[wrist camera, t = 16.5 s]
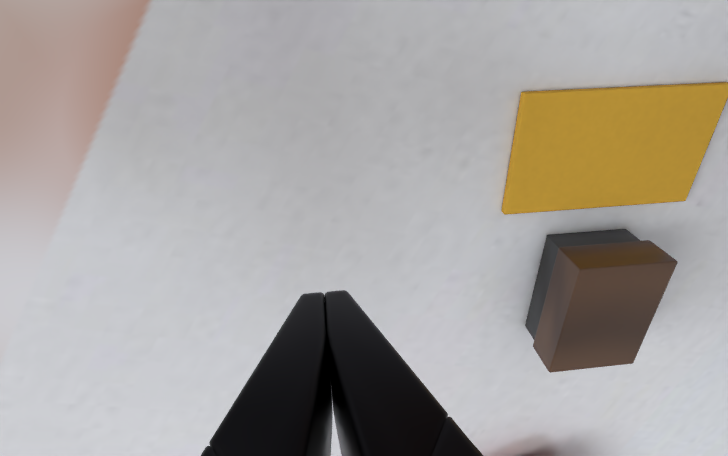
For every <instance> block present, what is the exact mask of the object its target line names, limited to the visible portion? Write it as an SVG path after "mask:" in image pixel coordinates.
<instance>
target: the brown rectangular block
mask: <svg viewBox="0 0 728 456" xmlns="http://www.w3.org/2000/svg"><path fill="white" fill-rule="evenodd" d="M676 265H677V261H676V260H675V259H674V258H672V257H671V256H670V255H668V254H667V253H666V252H664V251H663V250H662V249H660V248H659V247H658V246H656V245H655V244H654V243H652V242H651V241H649V240H646V241H640V240H639V239H638V238H637V237H635V236H634V235H633V234H631V233H630V232H629V231H627V230H626V229H622V230H609V231H595V232H582V233H569V234H555V235H547V238H546V242H545V246H544V250H543V254H542V258H541V262H540V267H539V271H538V275H537V279H536V283H535V287H534V291H533V295H532V300H531V304H530V308H529V312H528V316H527V320H526V324H525V326H526V328H527V329H528V331H529V333H530V334H531V336H532V337H533V339H534V344H533V347H534V349H535V350H536V352H537V354H538V355H539V357H540V358H541V360H542V362H543V363H544V365H545V366H546V368H547V370H548V371H549V372H558V371H567V370H577V369H586V368H595V367H604V366H614V365H623V364H632V363H633V362H634V360H635V358H636V355H637V353H638V351H639V348H640V346H641V344H642V342H643V339H644V337H645V335H646V333H647V330H648V328H649V326H650V324H651V321H652V319H653V317H654V314H655V312H656V310H657V308H658V305H659V303H660V301H661V299H662V296H663V294H664V292H665V289H666V287H667V285H668V283H669V280H670V278H671V276H672V274H673V271H674V269H675V267H676Z"/></svg>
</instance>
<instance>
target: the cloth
mask: <svg viewBox="0 0 728 456" xmlns="http://www.w3.org/2000/svg"><path fill="white" fill-rule="evenodd" d="M727 98H728V82H721V83H700V84H678V85H657V86H635V87H614V88H592V89H571V90H549V91H528V92H521V97H520V103H519V109H518V115H517V121H516V127H515V133H514V139H513V145H512V151H511V157H510V163H509V169H508V175H507V181H506V187H505V193H504V199H503V205H502V212H503V213H504V214H517V213H530V212H544V211H557V210H570V209H584V208H597V207H610V206H624V205H637V204H650V203H664V202H677V201H685V200H686V198H687V196H688V193H689V191H690V188H691V186H692V184H693V181H694V179H695V176H696V174H697V171H698V169H699V167H700V164H701V162H702V159H703V157H704V154H705V152H706V149H707V147H708V145H709V142H710V140H711V137H712V135H713V132H714V130H715V128H716V125H717V123H718V120H719V118H720V115H721V113H722V110H723V108H724V106H725V103H726V101H727Z"/></svg>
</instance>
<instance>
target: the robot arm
mask: <svg viewBox="0 0 728 456" xmlns="http://www.w3.org/2000/svg"><path fill="white" fill-rule="evenodd" d="M331 389H332V392H331ZM332 401H333V411H334V417H335V423H336V429H337V434H338V439H339V444H340V449H341V454H342V456H483V455H482V454H481V452H480V451H479V450H478V449H477V448H476V447H475V446H474V444H473V443H472V442H471V441H470V440H469V439H468V438H467V436H466V435H465V434H464V433H463V431H462V430H461V429H460V428H459V427H458V425H457V424H456V423H455V422H454V420H453V419H452V418H451V417H447V416H448V414H447V412H446V411H445V410H444V409H443V407H442V406H441V405H440V404H439V403H438V401H437V400H436V399H435V398H434V396H433V395H432V394H431V393H430V392H429V390H428V389H427V388H426V387H425V385H424V384H423V383H422V382H421V381H420V379H419V378H418V377H417V376H416V375H415V373H414V372H413V371H412V370H411V368H410V367H409V366H408V365H407V364H406V362H405V361H404V360H403V359H402V357H401V356H400V355H399V354H398V353H397V351H396V350H395V349H394V348H393V347H392V345H391V344H390V343H389V342H388V340H387V339H386V338H385V337H384V336H383V334H382V333H381V332H380V331H379V329H378V328H377V327H376V326H375V325H374V323H373V322H372V321H371V320H370V319H369V317H368V316H367V315H366V314H365V312H364V311H363V310H362V309H361V308H360V306H359V305H358V304H357V303H356V301H355V300H354V299H353V298H352V297H351V295H350V294H349V293H348V292H347V291H344V290H342V291H331V292H327V293H326V294H325V297H324V294H323V293H308V294H303V295H302V296H301V297H300V298H299V300H298V301H297V303H296V305H295V306H294V308H293V309H292V311H291V313H290V314H289V316H288V317H287V319H286V321H285V322H284V324H283V325H282V327H281V329H280V330H279V332H278V333H277V335H276V337H275V338H274V340H273V341H272V343H271V345H270V346H269V348H268V349H267V351H266V353H265V354H264V356H263V357H262V359H261V361H260V362H259V364H258V365H257V367H256V369H255V370H254V372H253V373H252V375H251V377H250V378H249V380H248V381H247V383H246V385H245V386H244V388H243V389H242V391H241V393H240V394H239V396H238V397H237V399H236V401H235V402H234V404H233V405H232V407H231V409H230V410H229V412H228V413H227V415H226V417H225V418H224V420H223V421H222V423H221V425H220V426H219V428H218V429H217V431H216V432H215V434H214V436H213V437H212V439H211V440H210V446H207V447H206V448H205V450H204V451H203V453H202V454H201V456H330V455H331V437H332Z"/></svg>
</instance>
